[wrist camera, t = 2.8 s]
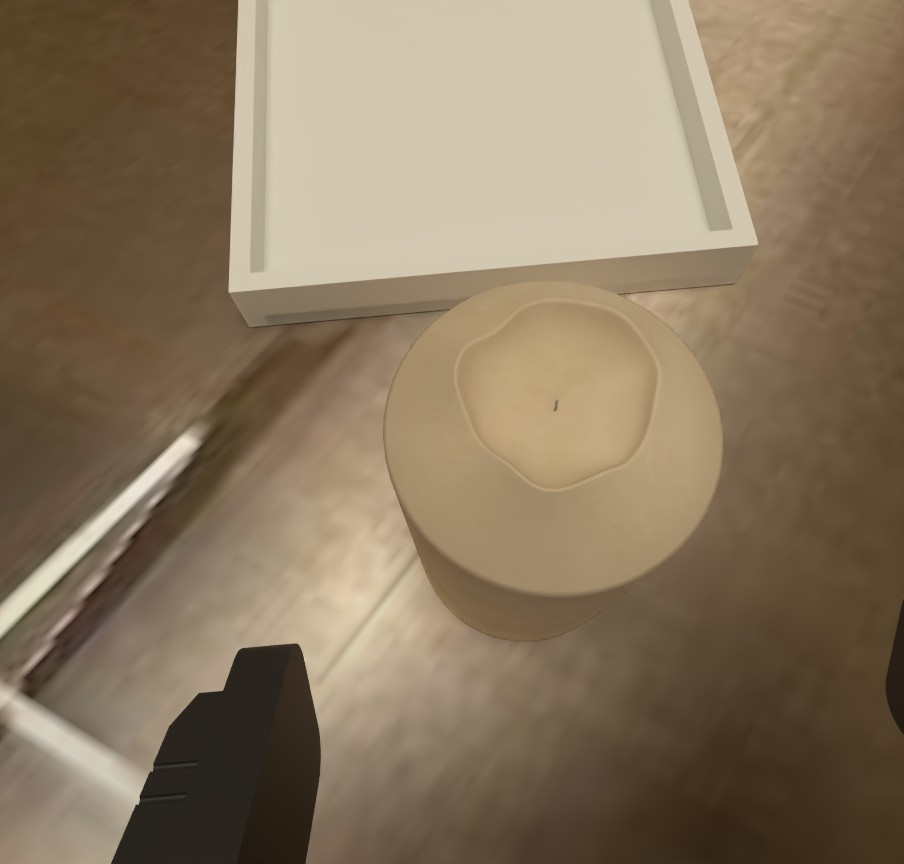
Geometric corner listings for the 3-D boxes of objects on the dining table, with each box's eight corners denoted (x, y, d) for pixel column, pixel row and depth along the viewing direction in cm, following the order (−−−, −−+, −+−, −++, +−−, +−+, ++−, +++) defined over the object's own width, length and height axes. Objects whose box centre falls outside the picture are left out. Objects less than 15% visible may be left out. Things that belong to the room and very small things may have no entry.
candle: (592, 672, 18) (716, 639, 9) (392, 603, 19) (310, 505, 10) (642, 477, 20) (788, 279, 11) (457, 421, 21) (442, 191, 11)
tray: (249, 327, 22) (228, 292, 20) (258, -84, 29) (243, -138, 27) (734, 283, 22) (758, 245, 20) (627, -117, 29) (638, -173, 27)
